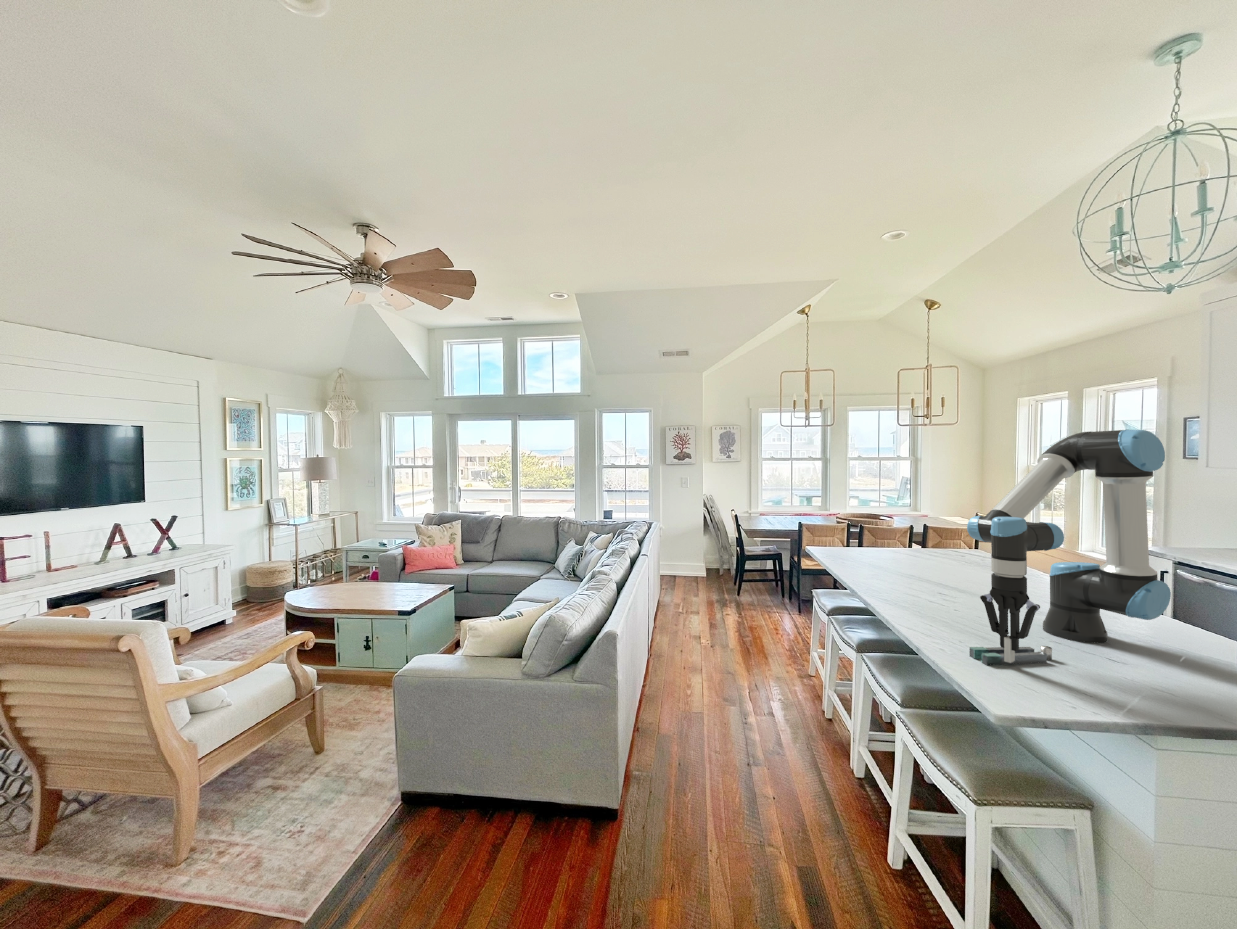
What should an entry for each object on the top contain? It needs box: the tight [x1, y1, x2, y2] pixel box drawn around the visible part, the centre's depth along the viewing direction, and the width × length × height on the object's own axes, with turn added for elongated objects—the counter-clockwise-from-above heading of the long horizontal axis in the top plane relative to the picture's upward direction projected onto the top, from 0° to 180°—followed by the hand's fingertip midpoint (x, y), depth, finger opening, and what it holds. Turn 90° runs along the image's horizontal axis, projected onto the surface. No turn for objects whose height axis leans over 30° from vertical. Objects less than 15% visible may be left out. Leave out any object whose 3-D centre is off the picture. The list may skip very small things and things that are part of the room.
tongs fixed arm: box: [969, 645, 1053, 661], centre depth 137 cm, size 21×4×3 cm, turn 91°
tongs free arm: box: [981, 651, 1048, 667], centre depth 134 cm, size 18×2×3 cm, turn 94°
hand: (1009, 660), depth 131 cm, fingers closed
